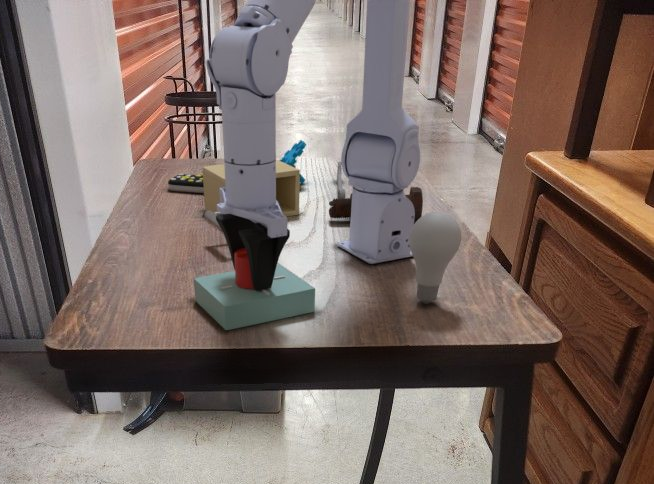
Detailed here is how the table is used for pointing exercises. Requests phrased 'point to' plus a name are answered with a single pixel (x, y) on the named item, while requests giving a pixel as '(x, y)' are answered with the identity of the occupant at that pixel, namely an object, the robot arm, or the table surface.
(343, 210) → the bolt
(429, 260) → the lightbulb
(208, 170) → the cabinet
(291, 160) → the blue jagged angular piece
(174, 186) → the remote control
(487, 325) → the table surface
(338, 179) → the combination wrench
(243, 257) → the cylinder
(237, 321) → the panel
